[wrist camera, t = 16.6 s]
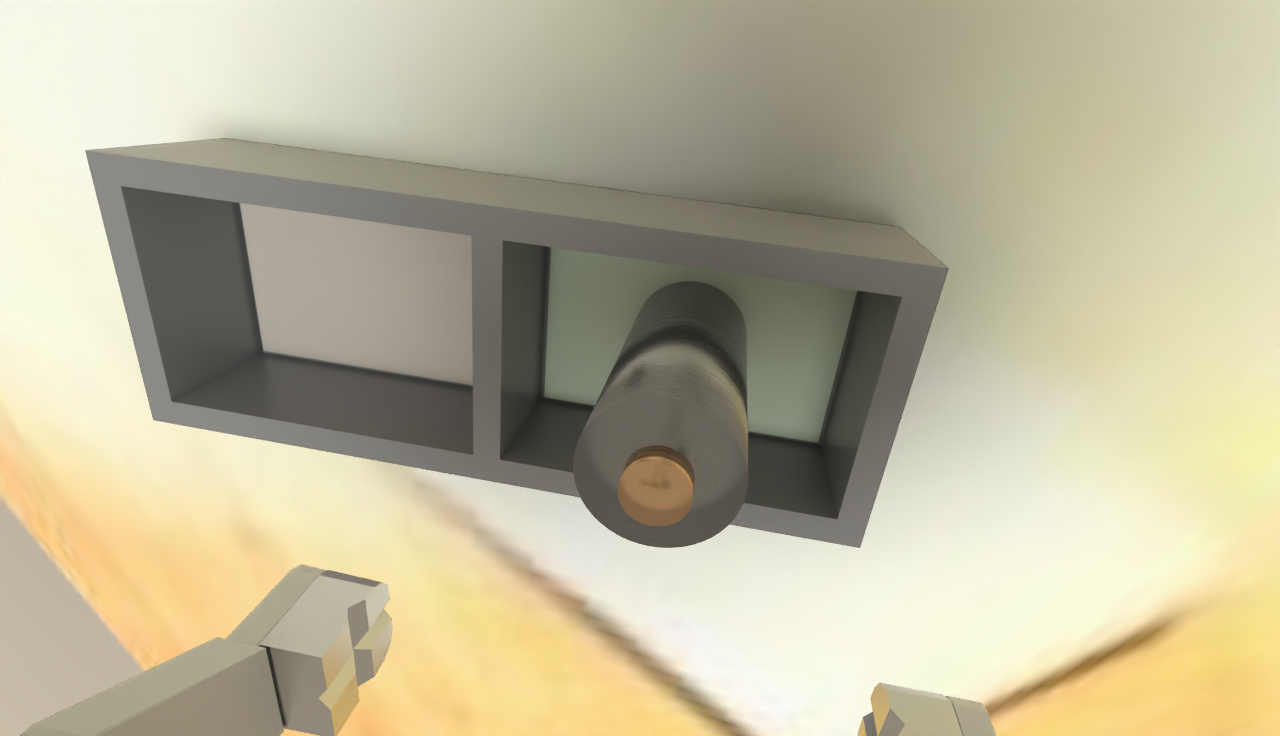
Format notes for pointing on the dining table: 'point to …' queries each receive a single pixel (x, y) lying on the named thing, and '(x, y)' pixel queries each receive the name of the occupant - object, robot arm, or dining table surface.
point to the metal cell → (671, 423)
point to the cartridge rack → (499, 315)
